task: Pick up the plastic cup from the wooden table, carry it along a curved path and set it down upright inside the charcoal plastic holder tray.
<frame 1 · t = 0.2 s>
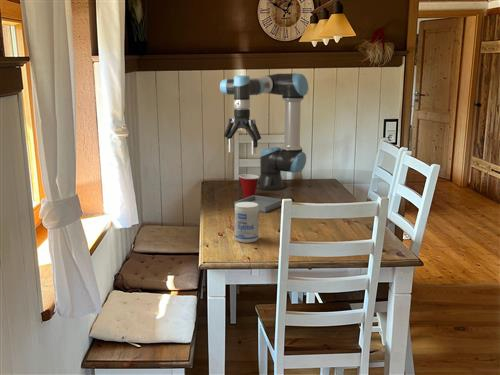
hand: (242, 153, 260), 28 cm above the table, tool pointing down, fingers open, 13 cm apart
plastic cup: (249, 197, 289), on the table
supplement tub: (246, 240, 217), on the table
holder tray: (259, 206, 269), on the table
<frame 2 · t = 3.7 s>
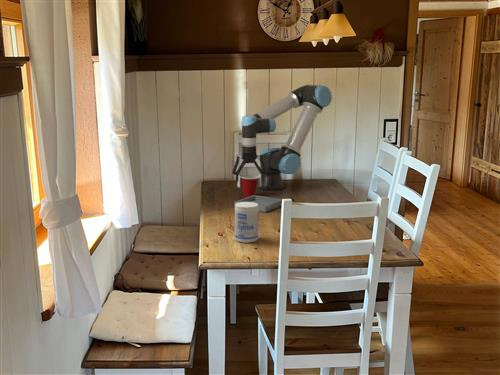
hand: (249, 186, 287), 6 cm above the table, tool pointing down, fingers closed on plastic cup, 11 cm apart
plastic cup: (249, 197, 289), on the table, touching gripper
everything else where it was.
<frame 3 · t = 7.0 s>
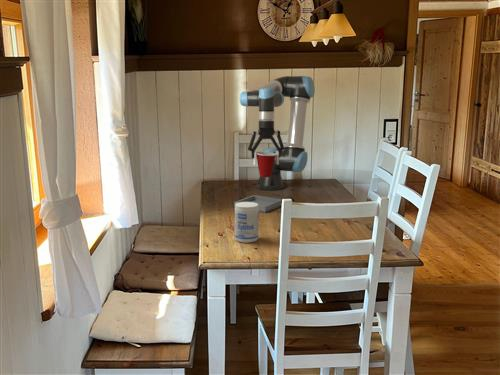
hand: (266, 164, 269), 21 cm above the table, tool pointing down, fingers closed on plastic cup, 11 cm apart
plastic cup: (265, 176, 270), point 14 cm above the table, touching gripper
everything else where it was.
when the fingers open (8 cm above the table, at t = 10.6 s): plastic cup drops 1 cm, resting on holder tray.
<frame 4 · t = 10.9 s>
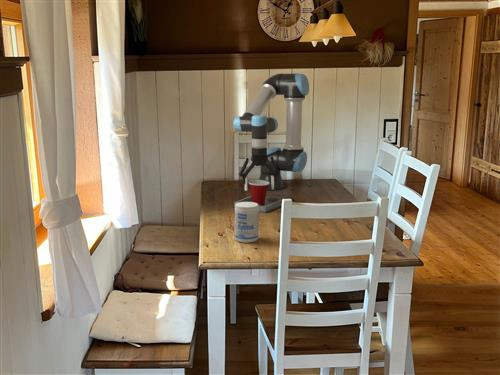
hand: (259, 189, 267), 9 cm above the table, tool pointing down, fingers open, 13 cm apart
plastic cup: (259, 205, 269), point 1 cm above the table, touching holder tray
everything else where it was.
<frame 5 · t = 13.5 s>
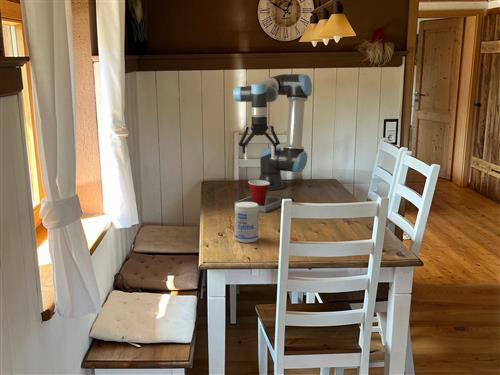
hand: (259, 159, 264), 24 cm above the table, tool pointing down, fingers open, 13 cm apart
nothing on the table moved.
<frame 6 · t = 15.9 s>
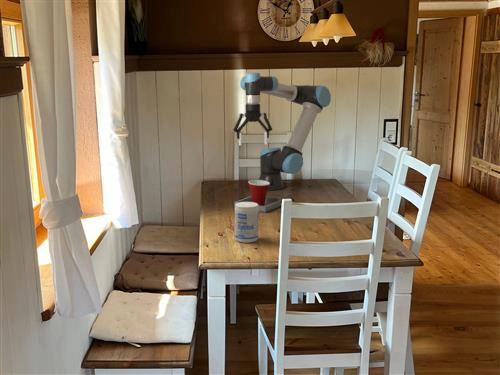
hand: (252, 144, 280), 29 cm above the table, tool pointing down, fingers open, 13 cm apart
nothing on the table moved.
at the end: plastic cup inside the target area on the holder tray (0.2 cm from its centre), point 0.6 cm above the holder tray's base; plastic cup tilted 0°; the gripper is holding nothing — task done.
